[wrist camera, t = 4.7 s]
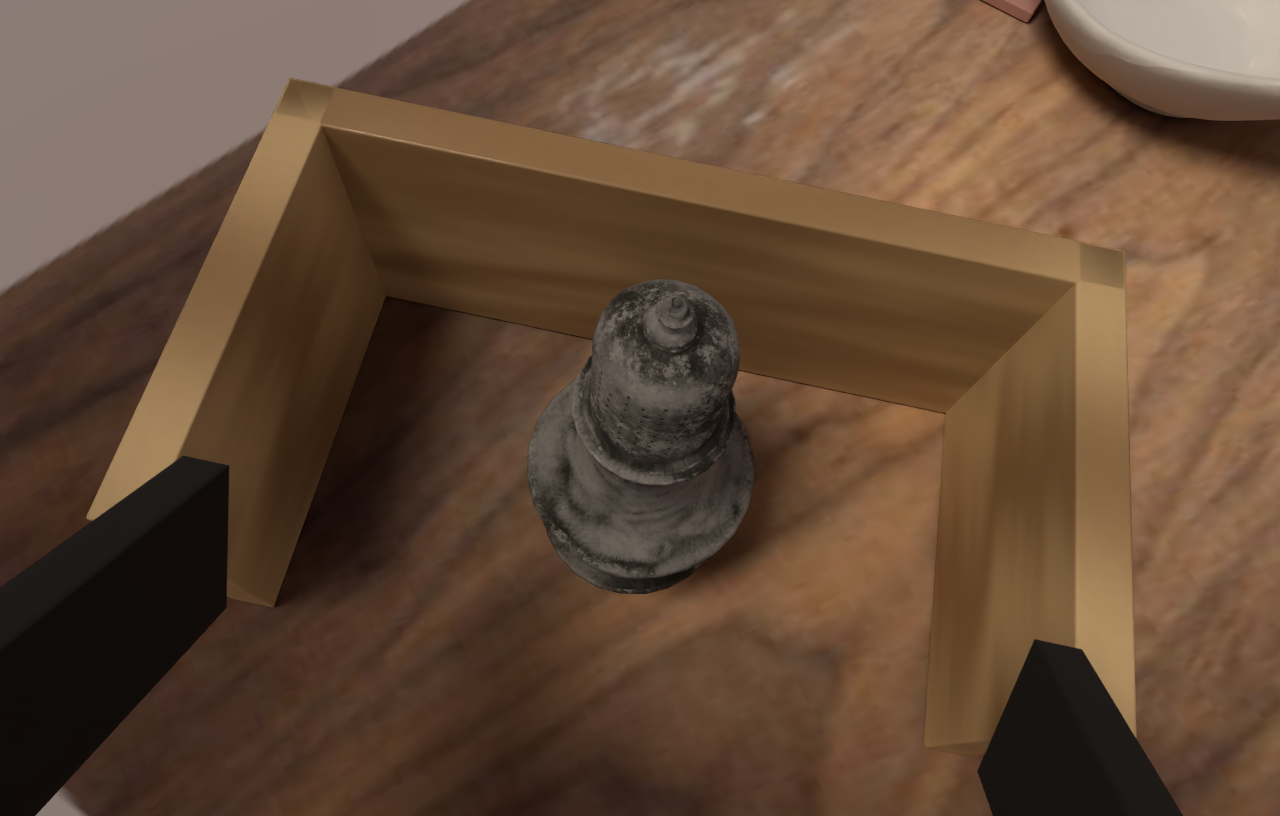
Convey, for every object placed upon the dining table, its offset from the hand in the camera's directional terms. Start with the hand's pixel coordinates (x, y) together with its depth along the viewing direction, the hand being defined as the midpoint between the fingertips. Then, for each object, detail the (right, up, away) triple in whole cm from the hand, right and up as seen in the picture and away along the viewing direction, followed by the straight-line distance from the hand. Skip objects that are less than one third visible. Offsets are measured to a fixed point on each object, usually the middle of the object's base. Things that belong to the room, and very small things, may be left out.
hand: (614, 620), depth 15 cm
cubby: (0, +1, +12) cm, 12 cm away
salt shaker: (0, +1, +12) cm, 12 cm away
